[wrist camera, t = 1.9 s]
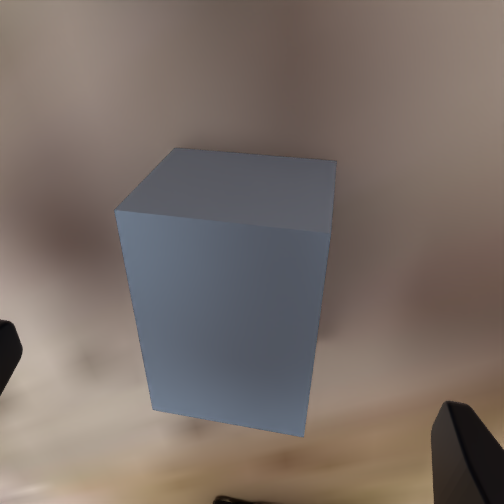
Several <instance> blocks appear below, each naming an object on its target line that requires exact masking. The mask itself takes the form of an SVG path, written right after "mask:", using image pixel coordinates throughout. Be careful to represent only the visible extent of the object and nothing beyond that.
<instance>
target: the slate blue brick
mask: <svg viewBox="0 0 504 504" xmlns="http://www.w3.org/2000/svg"><path fill="white" fill-rule="evenodd" d="M336 164H337V161H330V160H318V159H306V158H294V157H282V156H270V155H258V154H245V153H233V152H221V151H209V150H197V149H185V148H174V149H173V150H172V151H171V152H170V153H169V154H168V155H167V156H166V157H165V158H164V159H163V160H162V161H161V162H160V163H159V165H158V166H157V167H156V168H155V169H154V170H153V171H152V172H151V173H150V174H149V175H148V176H147V177H146V178H145V179H144V180H143V181H142V182H141V183H140V184H139V185H138V186H137V187H136V188H135V189H134V190H133V191H132V192H131V193H130V194H129V195H128V196H127V197H126V198H125V199H124V200H123V201H122V203H121V204H120V205H119V206H118V207H117V208H116V209H115V210H114V211H115V217H116V222H117V227H118V232H119V237H120V243H121V248H122V253H123V258H124V263H125V268H126V274H127V279H128V284H129V289H130V294H131V299H132V305H133V310H134V315H135V320H136V325H137V330H138V336H139V341H140V346H141V351H142V356H143V361H144V367H145V372H146V377H147V382H148V387H149V392H150V398H151V403H152V408H153V410H156V411H161V412H167V413H172V414H178V415H183V416H189V417H194V418H200V419H205V420H211V421H216V422H222V423H227V424H233V425H238V426H244V427H249V428H255V429H260V430H266V431H271V432H277V433H282V434H288V435H293V436H299V437H304V432H305V424H306V417H307V409H308V402H309V394H310V387H311V379H312V372H313V364H314V357H315V349H316V342H317V335H318V327H319V320H320V312H321V305H322V297H323V290H324V282H325V275H326V267H327V260H328V252H329V245H330V238H331V228H332V215H333V202H334V190H335V177H336Z"/></svg>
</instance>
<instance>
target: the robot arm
mask: <svg viewBox="0 0 504 504" xmlns="http://www.w3.org/2000/svg"><path fill="white" fill-rule="evenodd" d="M22 351H23V348H22V344H21V342H20V339H19V336H18V334H17V331H16V328H15V326H14V324H13V323H12V322H10V321H6V320H1V319H0V396H1V394H2V392H3V390H4V388H5V386H6V385H7V383H8V381H9V379H10V377H11V375H12V374H13V372H14V370H15V368H16V366H17V364H18V362H19V361H20V359H21V356H22ZM431 449H432V471H433V492H434V504H504V449H503V448H502V447H501V446H500V444H499V443H498V442H497V440H496V439H495V438H494V436H493V435H492V434H491V432H490V431H489V430H488V429H487V427H486V426H485V425H484V423H483V422H482V421H481V419H480V418H479V417H478V415H477V414H476V413H475V412H474V410H473V409H472V408H471V407H470V406H469V405H467V404H465V403H460V402H454V401H445V402H444V403H443V404H442V406H441V409H440V411H439V413H438V415H437V417H436V419H435V421H434V424H433V426H432V430H431ZM213 504H236V503H231V502H227V501H222V500H216V501H214V502H213Z"/></svg>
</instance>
